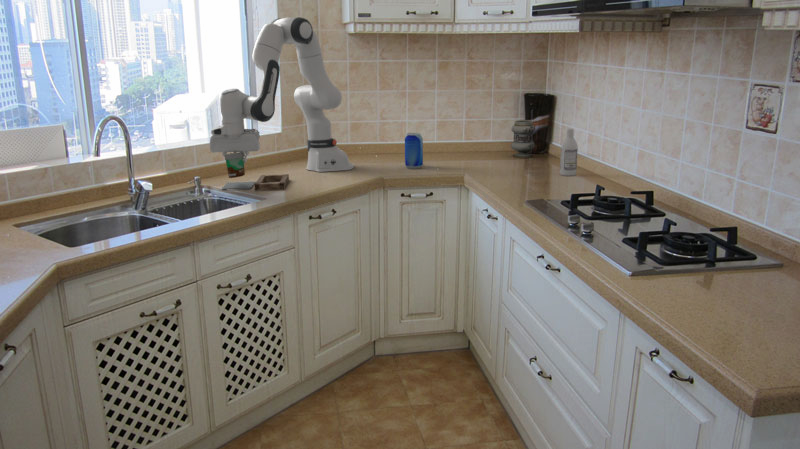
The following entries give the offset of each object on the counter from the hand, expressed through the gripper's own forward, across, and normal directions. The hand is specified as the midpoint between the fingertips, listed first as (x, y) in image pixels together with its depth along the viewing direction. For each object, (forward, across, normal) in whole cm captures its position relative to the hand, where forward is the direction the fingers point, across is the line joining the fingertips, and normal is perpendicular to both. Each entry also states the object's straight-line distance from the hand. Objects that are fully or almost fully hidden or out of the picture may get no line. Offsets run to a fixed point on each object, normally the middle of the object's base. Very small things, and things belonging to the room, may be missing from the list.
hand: (236, 162), depth 270 cm
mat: (+10, 0, 0) cm, 10 cm away
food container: (+6, -1, 0) cm, 6 cm away
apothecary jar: (+10, -134, -48) cm, 143 cm away
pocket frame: (+10, -14, -1) cm, 18 cm away
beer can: (+10, -77, -29) cm, 83 cm away
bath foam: (+10, -143, -2) cm, 143 cm away
